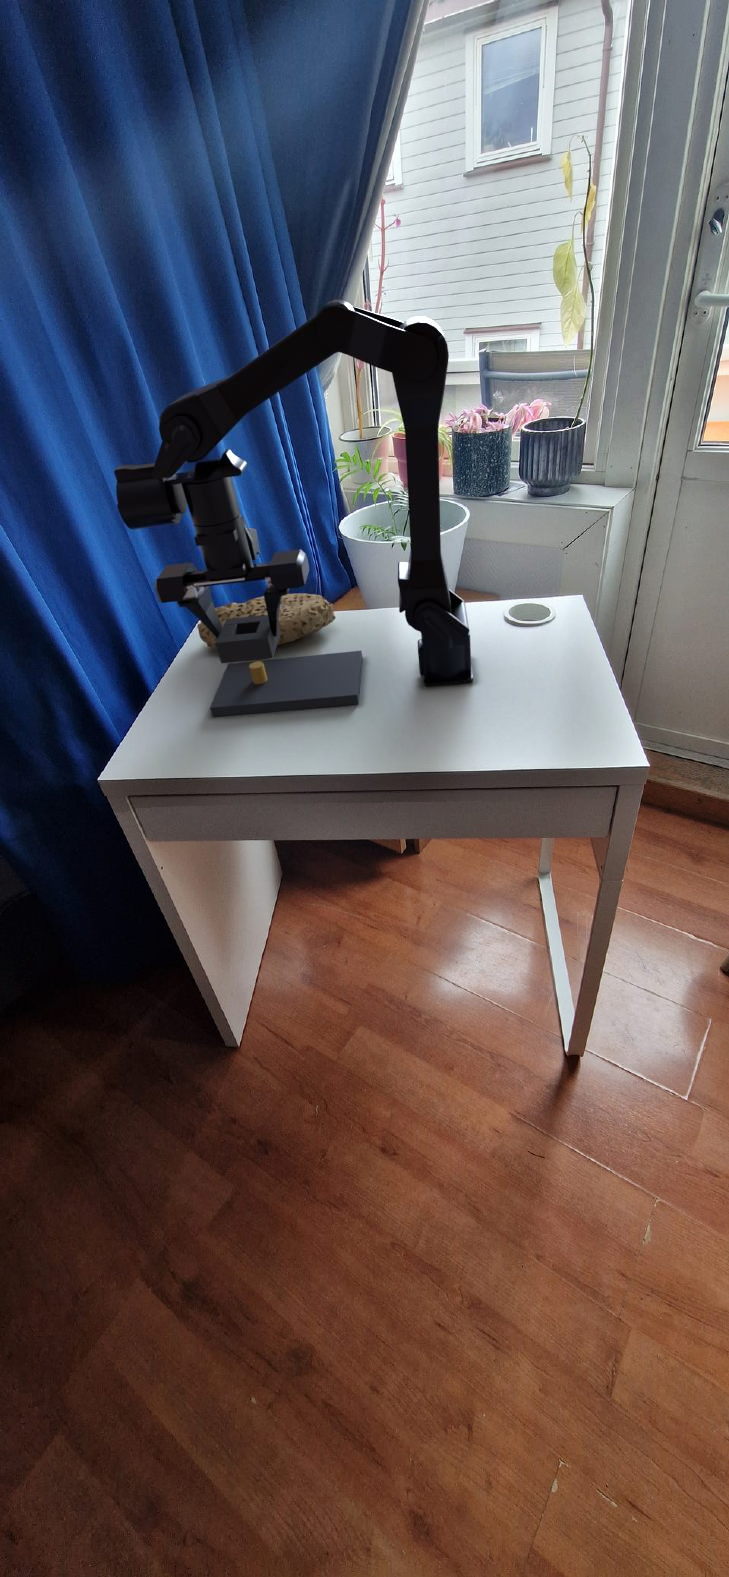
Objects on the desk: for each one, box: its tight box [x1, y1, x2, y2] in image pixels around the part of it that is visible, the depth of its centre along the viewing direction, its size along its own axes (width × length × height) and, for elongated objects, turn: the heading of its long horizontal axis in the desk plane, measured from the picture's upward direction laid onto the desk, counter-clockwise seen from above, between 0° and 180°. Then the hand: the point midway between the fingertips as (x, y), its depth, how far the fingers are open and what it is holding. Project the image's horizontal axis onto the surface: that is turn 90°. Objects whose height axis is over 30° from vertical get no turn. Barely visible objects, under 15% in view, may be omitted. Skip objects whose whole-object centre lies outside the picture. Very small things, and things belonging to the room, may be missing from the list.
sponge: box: [196, 592, 336, 649], centre depth 102 cm, size 13×8×20 cm
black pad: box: [215, 615, 281, 664], centre depth 87 cm, size 7×7×3 cm
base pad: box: [209, 650, 364, 718], centre depth 90 cm, size 20×12×4 cm, turn 87°
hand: (249, 638), depth 87 cm, fingers closed on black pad, 7 cm apart
